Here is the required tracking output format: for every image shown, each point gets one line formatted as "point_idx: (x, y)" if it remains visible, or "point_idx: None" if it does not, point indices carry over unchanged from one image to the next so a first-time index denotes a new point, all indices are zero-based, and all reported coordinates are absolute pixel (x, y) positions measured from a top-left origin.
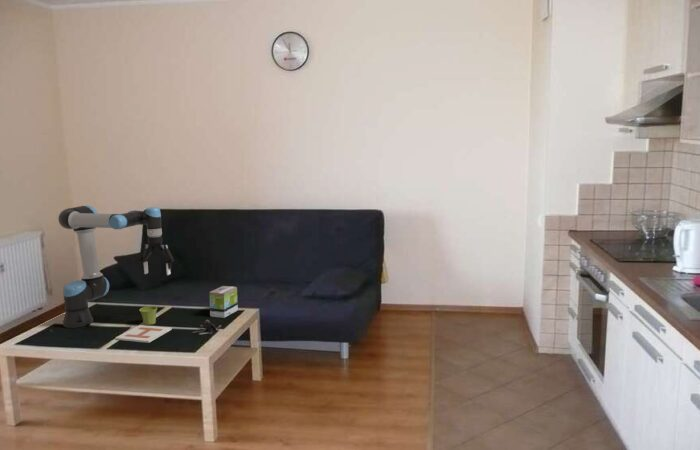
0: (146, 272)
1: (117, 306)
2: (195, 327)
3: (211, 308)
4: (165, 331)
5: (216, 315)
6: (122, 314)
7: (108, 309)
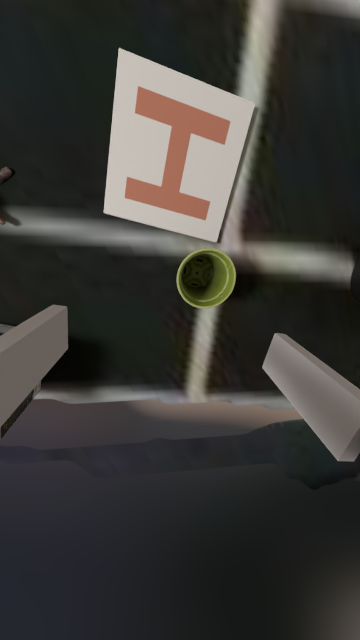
0: (275, 350)
1: None
2: (35, 234)
3: None
4: (107, 173)
5: None
6: None
7: None
